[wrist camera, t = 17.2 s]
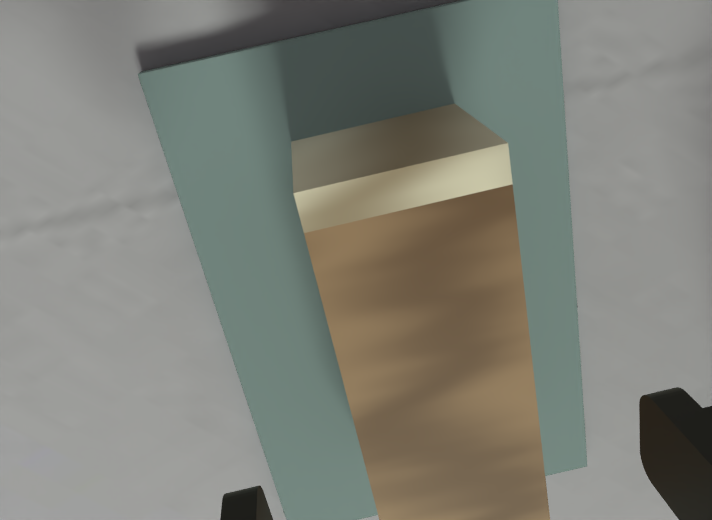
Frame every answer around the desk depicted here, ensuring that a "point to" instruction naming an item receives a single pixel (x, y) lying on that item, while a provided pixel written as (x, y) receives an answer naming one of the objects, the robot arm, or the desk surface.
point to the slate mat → (285, 233)
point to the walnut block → (427, 312)
